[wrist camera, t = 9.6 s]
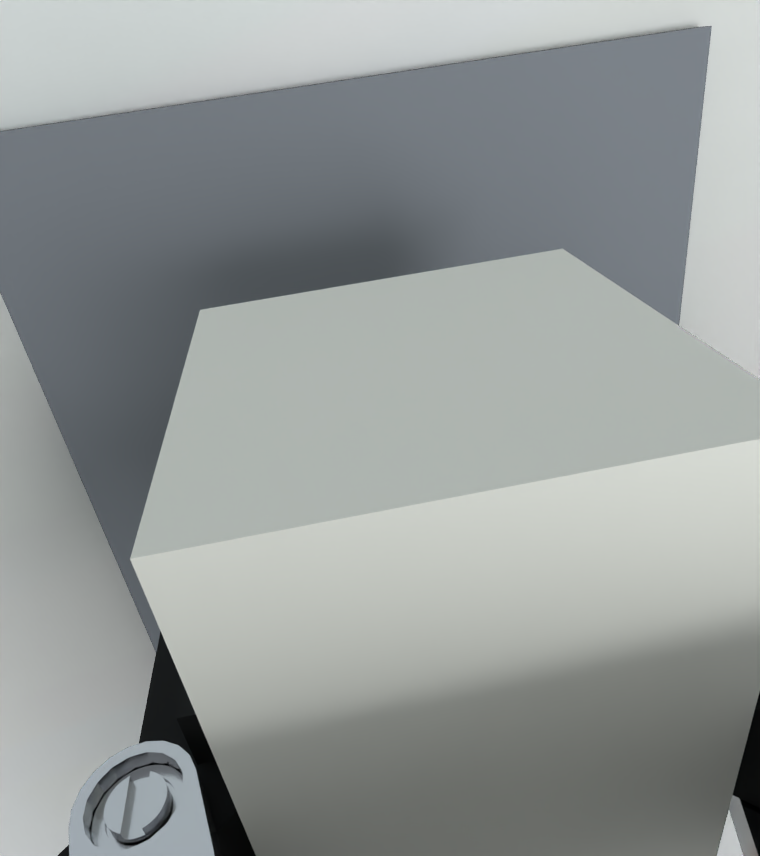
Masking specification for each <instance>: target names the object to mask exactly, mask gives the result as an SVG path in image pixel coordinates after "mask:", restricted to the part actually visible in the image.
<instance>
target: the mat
mask: <svg viewBox="0 0 760 856" xmlns="http://www.w3.org/2000/svg"><path fill="white" fill-rule="evenodd" d="M711 27H712V26H705V27H696V28H689V29H683V30H676V31H669V32H663V33H656V34H649V35H643V36H636V37H629V38H622V39H616V40H609V41H602V42H596V43H589V44H582V45H576V46H569V47H562V48H555V49H549V50H542V51H535V52H529V53H522V54H515V55H509V56H502V57H495V58H488V59H482V60H475V61H468V62H462V63H455V64H448V65H442V66H435V67H428V68H421V69H415V70H408V71H401V72H395V73H388V74H381V75H375V76H368V77H361V78H354V79H348V80H341V81H334V82H328V83H321V84H314V85H308V86H301V87H294V88H287V89H281V90H274V91H267V92H261V93H254V94H247V95H241V96H234V97H227V98H220V99H214V100H207V101H200V102H194V103H187V104H180V105H174V106H167V107H160V108H153V109H147V110H140V111H133V112H127V113H120V114H113V115H107V116H100V117H93V118H86V119H80V120H73V121H66V122H60V123H53V124H46V125H40V126H33V127H26V128H19V129H13V130H6V131H0V293H1V295H2V297H3V300H4V302H5V304H6V306H7V309H8V311H9V313H10V316H11V318H12V320H13V323H14V325H15V327H16V330H17V332H18V334H19V337H20V339H21V341H22V343H23V346H24V348H25V350H26V353H27V355H28V357H29V360H30V362H31V364H32V367H33V369H34V371H35V374H36V376H37V378H38V380H39V383H40V385H41V387H42V390H43V392H44V394H45V397H46V399H47V401H48V404H49V406H50V408H51V411H52V413H53V415H54V417H55V420H56V422H57V424H58V427H59V429H60V431H61V434H62V436H63V438H64V441H65V443H66V445H67V448H68V450H69V452H70V454H71V457H72V459H73V461H74V464H75V466H76V468H77V471H78V473H79V475H80V478H81V480H82V482H83V485H84V487H85V489H86V492H87V494H88V496H89V498H90V501H91V503H92V505H93V508H94V510H95V512H96V515H97V517H98V519H99V522H100V524H101V526H102V529H103V531H104V533H105V535H106V538H107V540H108V542H109V545H110V547H111V549H112V552H113V554H114V556H115V559H116V561H117V563H118V566H119V568H120V570H121V572H122V575H123V577H124V579H125V582H126V584H127V586H128V589H129V591H130V593H131V596H132V598H133V600H134V603H135V605H136V607H137V609H138V612H139V614H140V616H141V619H142V621H143V623H144V626H145V628H146V630H147V633H148V635H149V637H150V640H151V642H152V644H153V646H154V649H155V651H156V652H157V647H158V641H159V636H160V629H159V626H158V624H157V621H156V619H155V617H154V614H153V612H152V610H151V607H150V605H149V603H148V600H147V598H146V596H145V593H144V591H143V588H142V586H141V584H140V581H139V579H138V577H137V574H136V572H135V570H134V567H133V565H132V563H131V560H130V557H131V554H132V550H133V547H134V543H135V540H136V536H137V532H138V529H139V525H140V522H141V518H142V515H143V511H144V507H145V504H146V500H147V497H148V493H149V490H150V486H151V483H152V479H153V475H154V472H155V468H156V465H157V461H158V458H159V454H160V450H161V447H162V443H163V440H164V436H165V433H166V429H167V426H168V422H169V418H170V415H171V411H172V408H173V404H174V401H175V397H176V393H177V390H178V386H179V383H180V379H181V376H182V372H183V369H184V365H185V361H186V358H187V354H188V351H189V347H190V344H191V340H192V336H193V333H194V329H195V326H196V322H197V319H198V315H199V312H200V310H202V309H208V308H214V307H220V306H226V305H232V304H238V303H244V302H249V301H255V300H261V299H267V298H273V297H279V296H285V295H291V294H297V293H303V292H309V291H315V290H321V289H326V288H332V287H338V286H344V285H350V284H356V283H362V282H368V281H374V280H380V279H386V278H392V277H398V276H403V275H409V274H415V273H421V272H427V271H433V270H439V269H445V268H451V267H457V266H463V265H469V264H475V263H480V262H486V261H492V260H498V259H504V258H510V257H516V256H522V255H528V254H534V253H540V252H546V251H552V250H557V249H564V250H565V251H567V252H568V253H570V254H571V255H573V256H575V257H576V258H578V259H579V260H581V261H582V262H584V263H585V264H587V265H588V266H590V267H591V268H593V269H594V270H596V271H597V272H599V273H600V274H602V275H603V276H605V277H606V278H608V279H609V280H611V281H612V282H614V283H615V284H617V285H618V286H620V287H621V288H623V289H624V290H626V291H627V292H629V293H630V294H632V295H633V296H635V297H636V298H638V299H639V300H641V301H642V302H644V303H645V304H647V305H648V306H650V307H651V308H653V309H654V310H656V311H657V312H659V313H660V314H662V315H664V316H665V317H667V318H668V319H670V320H671V321H673V322H674V323H676V324H677V325H679V321H680V312H681V302H682V293H683V284H684V275H685V266H686V257H687V247H688V238H689V229H690V220H691V211H692V202H693V192H694V183H695V174H696V165H697V156H698V147H699V137H700V128H701V119H702V110H703V101H704V91H705V82H706V73H707V64H708V55H709V46H710V36H711Z"/></svg>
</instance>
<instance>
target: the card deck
mask: <svg viewBox="0 0 760 856" xmlns="http://www.w3.org/2000/svg"><path fill="white" fill-rule="evenodd" d="M130 560H131V563H132V565H133V567H134V570H135V572H136V574H137V577H138V579H139V581H140V584H141V586H142V588H143V591H144V593H145V596H146V598H147V600H148V603H149V605H150V607H151V610H152V612H153V614H154V617H155V619H156V621H157V624H158V626H159V629H160V631H161V633H162V636H163V638H164V640H165V643H166V645H167V647H168V650H169V652H170V654H171V657H172V659H173V661H174V664H175V666H176V669H177V671H178V673H179V676H180V678H181V680H182V683H183V685H184V687H185V690H186V692H187V694H188V697H189V699H190V702H191V704H192V706H193V709H194V711H195V713H196V716H197V718H198V720H199V723H200V725H201V727H202V730H203V732H204V735H205V737H206V739H207V742H208V744H209V746H210V749H211V751H212V753H213V756H214V758H215V760H216V763H217V765H218V768H219V770H220V772H221V775H222V777H223V779H224V782H225V784H226V786H227V789H228V791H229V793H230V796H231V798H232V800H233V803H234V805H235V808H236V810H237V812H238V815H239V817H240V819H241V822H242V824H243V826H244V829H245V831H246V833H247V836H248V838H249V841H250V843H251V845H252V848H253V850H254V852H255V855H256V856H716V855H717V852H718V848H719V844H720V840H721V836H722V833H723V829H724V825H725V821H726V817H727V814H728V810H729V806H730V802H731V798H732V795H733V791H734V787H735V783H736V779H737V776H738V772H739V768H740V764H741V760H742V757H743V753H744V749H745V745H746V741H747V738H748V734H749V730H750V726H751V722H752V719H753V715H754V711H755V707H756V703H757V700H758V696H759V692H760V379H759V378H757V377H756V376H754V375H752V374H751V373H749V372H748V371H746V370H745V369H743V368H742V367H740V366H739V365H737V364H736V363H734V362H733V361H731V360H730V359H728V358H727V357H725V356H724V355H722V354H721V353H719V352H718V351H716V350H715V349H713V348H712V347H710V346H709V345H707V344H706V343H704V342H703V341H701V340H700V339H698V338H697V337H695V336H694V335H692V334H691V333H689V332H688V331H686V330H685V329H683V328H682V327H680V326H679V325H677V324H676V323H674V322H673V321H671V320H670V319H668V318H667V317H665V316H664V315H662V314H660V313H659V312H657V311H656V310H654V309H653V308H651V307H650V306H648V305H647V304H645V303H644V302H642V301H641V300H639V299H638V298H636V297H635V296H633V295H632V294H630V293H629V292H627V291H626V290H624V289H623V288H621V287H620V286H618V285H617V284H615V283H614V282H612V281H611V280H609V279H608V278H606V277H605V276H603V275H602V274H600V273H599V272H597V271H596V270H594V269H593V268H591V267H590V266H588V265H587V264H585V263H584V262H582V261H581V260H579V259H578V258H576V257H575V256H573V255H571V254H570V253H568V252H567V251H565V250H564V249H557V250H552V251H546V252H540V253H534V254H528V255H522V256H516V257H510V258H504V259H498V260H492V261H486V262H480V263H475V264H469V265H463V266H457V267H451V268H445V269H439V270H433V271H427V272H421V273H415V274H409V275H403V276H398V277H392V278H386V279H380V280H374V281H368V282H362V283H356V284H350V285H344V286H338V287H332V288H326V289H321V290H315V291H309V292H303V293H297V294H291V295H285V296H279V297H273V298H267V299H261V300H255V301H249V302H244V303H238V304H232V305H226V306H220V307H214V308H208V309H202V310H200V312H199V315H198V319H197V322H196V326H195V329H194V333H193V336H192V340H191V344H190V347H189V351H188V354H187V358H186V361H185V365H184V369H183V372H182V376H181V379H180V383H179V386H178V390H177V393H176V397H175V401H174V404H173V408H172V411H171V415H170V418H169V422H168V426H167V429H166V433H165V436H164V440H163V443H162V447H161V450H160V454H159V458H158V461H157V465H156V468H155V472H154V475H153V479H152V483H151V486H150V490H149V493H148V497H147V500H146V504H145V507H144V511H143V515H142V518H141V522H140V525H139V529H138V532H137V536H136V540H135V543H134V547H133V550H132V554H131V557H130Z"/></svg>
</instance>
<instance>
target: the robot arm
mask: <svg viewBox="0 0 760 856" xmlns="http://www.w3.org/2000/svg"><path fill="white" fill-rule="evenodd" d="M729 810H730V814H731V817H732V820H733V823H734V826H735V830H736V833H737V836H738V839H739V842H740V846H741V849H742V852H743V855H744V856H760V692H759V696H758V700H757V703H756V707H755V711H754V715H753V719H752V722H751V726H750V730H749V734H748V738H747V741H746V745H745V749H744V753H743V757H742V760H741V764H740V768H739V772H738V776H737V779H736V783H735V787H734V791H733V795H732V798H731V802H730V806H729ZM58 856H256V855H255V852H254V850H253V848H252V845H251V843H250V841H249V838H248V836H247V833H246V831H245V829H244V826H243V824H242V822H241V819H240V817H239V815H238V812H237V810H236V808H235V805H234V803H233V800H232V798H231V796H230V793H229V791H228V789H227V786H226V784H225V782H224V779H223V777H222V775H221V772H220V770H219V768H218V765H217V763H216V760H215V758H214V756H213V753H212V751H211V749H210V746H209V744H208V742H207V739H206V737H205V735H204V732H203V730H202V727H201V725H200V723H199V720H198V718H197V716H196V713H195V711H194V709H193V706H192V704H191V702H190V699H189V697H188V694H187V692H186V690H185V687H184V685H183V683H182V680H181V678H180V676H179V673H178V671H177V669H176V666H175V664H174V661H173V659H172V657H171V654H170V652H169V650H168V647H167V645H166V643H165V640H164V638H163V636H162V633H161V631H160V636H159V641H158V647H157V652H156V657H155V662H154V668H153V673H152V678H151V683H150V688H149V694H148V699H147V704H146V709H145V715H144V720H143V725H142V730H141V735H140V741H139V744H136V745H133V746H130V747H127V748H126V749H124V750H122V751H120V752H119V753H117V754H115V755H114V756H112V757H110V758H109V759H108V760H107V761H105V762H104V763H103V764H102V765H101V766H100V767H99V768H98V769H97V770H95V771H94V772H93V773H92V775H91V776H90V777H89V779H88V780H87V781H86V783H85V784H84V785H83V787H82V788H81V790H80V791H79V794H78V796H77V798H76V800H75V803H74V805H73V807H72V809H71V816H70V823H69V845H68V846H67V847H66V848H65V849H64V850H63V851H62V852H61V853H60V854H59V855H58Z"/></svg>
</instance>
